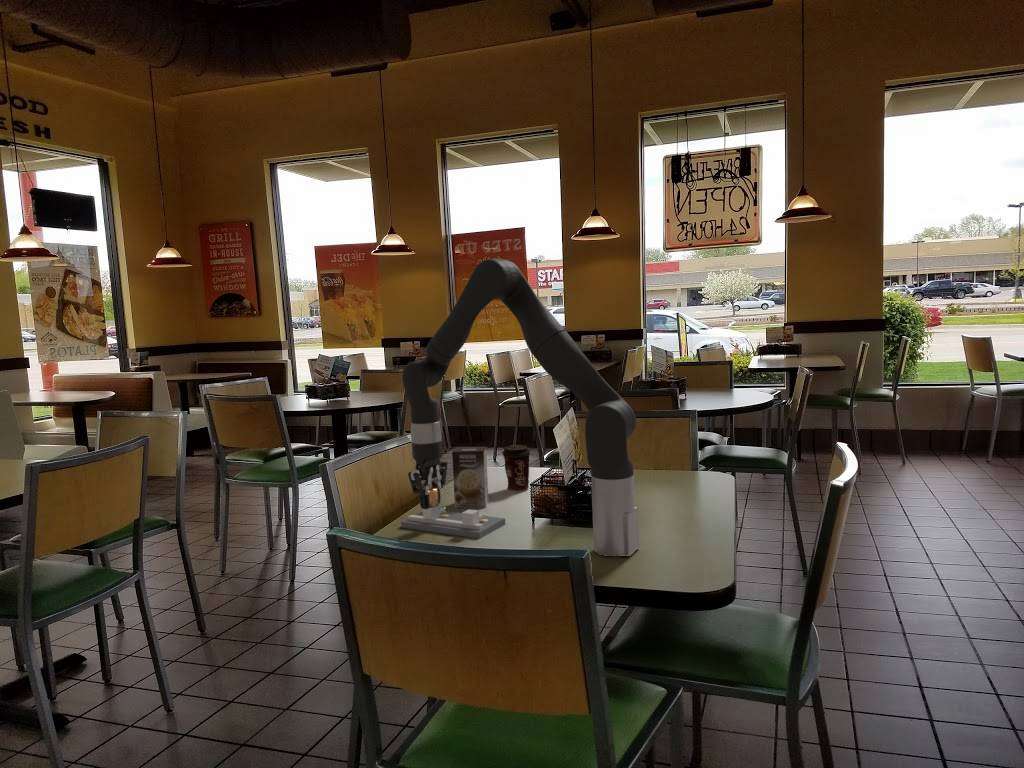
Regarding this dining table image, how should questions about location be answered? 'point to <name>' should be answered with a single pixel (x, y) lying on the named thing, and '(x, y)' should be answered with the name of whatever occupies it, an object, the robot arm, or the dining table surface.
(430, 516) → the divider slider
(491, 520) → the plate
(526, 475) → the coffee cup
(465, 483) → the coffee box
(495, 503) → the dining table surface
